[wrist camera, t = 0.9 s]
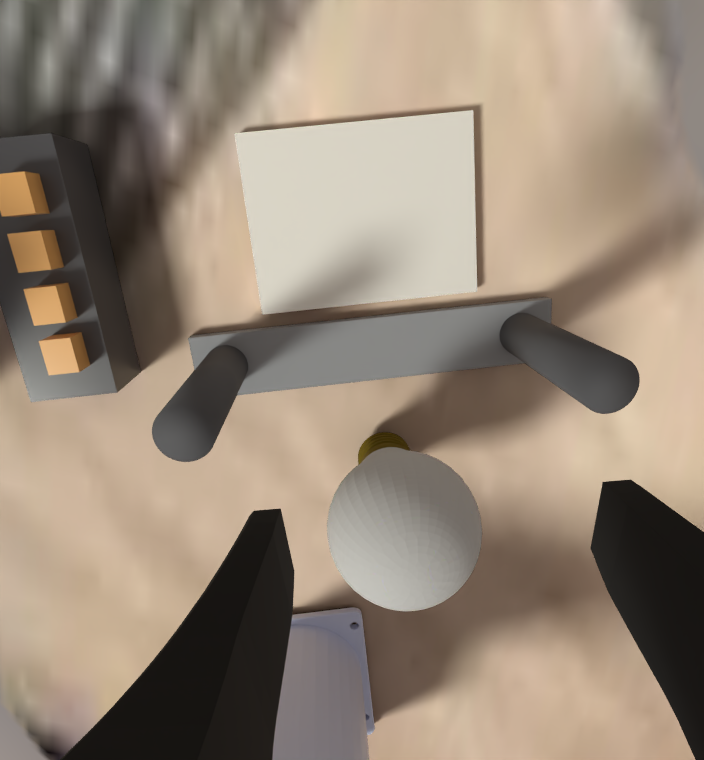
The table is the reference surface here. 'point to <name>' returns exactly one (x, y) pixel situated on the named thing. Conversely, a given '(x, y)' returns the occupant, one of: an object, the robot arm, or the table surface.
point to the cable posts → (384, 361)
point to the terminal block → (60, 272)
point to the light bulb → (403, 527)
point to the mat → (361, 210)
